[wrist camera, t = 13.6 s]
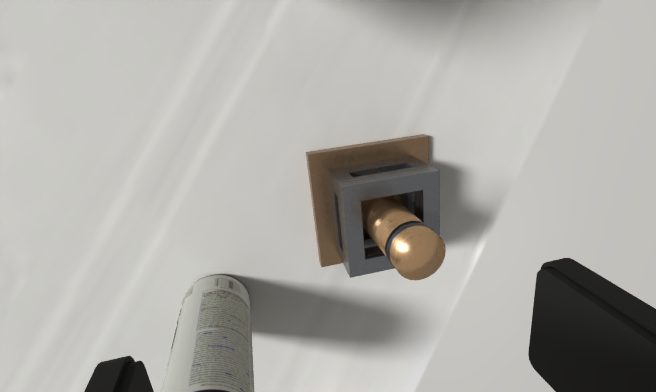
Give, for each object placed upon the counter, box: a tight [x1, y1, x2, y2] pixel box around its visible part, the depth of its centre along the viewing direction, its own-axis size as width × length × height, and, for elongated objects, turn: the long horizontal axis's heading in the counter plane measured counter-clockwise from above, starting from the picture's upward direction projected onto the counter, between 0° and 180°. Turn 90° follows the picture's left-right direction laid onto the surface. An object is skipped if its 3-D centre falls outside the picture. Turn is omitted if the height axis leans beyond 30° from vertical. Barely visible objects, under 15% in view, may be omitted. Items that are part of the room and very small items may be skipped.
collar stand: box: [306, 134, 439, 278], centre depth 36 cm, size 12×12×6 cm
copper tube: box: [361, 196, 445, 280], centre depth 33 cm, size 4×4×11 cm
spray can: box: [161, 275, 254, 392], centre depth 30 cm, size 7×7×20 cm
